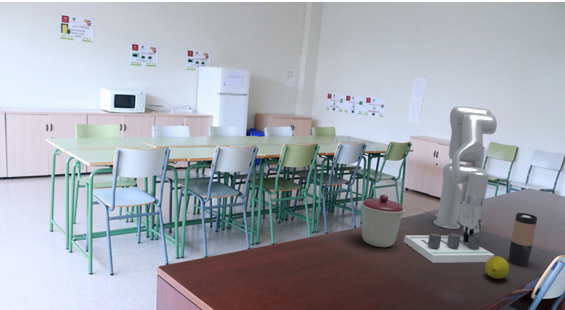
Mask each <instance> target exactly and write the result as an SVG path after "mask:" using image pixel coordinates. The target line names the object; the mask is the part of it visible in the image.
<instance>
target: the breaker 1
mask: <svg viewBox="0 0 565 310" xmlns="http://www.w3.org/2000/svg"><path fill="white" fill-rule="evenodd" d="M428 236H429V240H428V246H429V247H431V248H440V242H441V236H442V235H440V234H438V233H429V234H428Z"/></svg>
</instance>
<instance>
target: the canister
mask: <svg viewBox="0 0 565 310" xmlns="http://www.w3.org/2000/svg"><path fill="white" fill-rule="evenodd" d="M360 205H361V206H362V209H361V215H362V216H361V235H362V240H363V241H364V242H365V243H367V244H368V245H370V246H373V247H377V248H389V247H392V246H393V245H394V243H396V242H395V241H396V240H397V236H398V232H399V229H400V225H401V220H402V218H403V213H405V212H406V208H405V206H402V204H400V203H399V202H397V201H394V200H390V199H389V196H388V195H386V194H381V195H379V198H377V197H376V198H373V197H372V198H367V199H364V200H362V201H360Z"/></svg>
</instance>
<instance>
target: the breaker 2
mask: <svg viewBox="0 0 565 310" xmlns="http://www.w3.org/2000/svg"><path fill="white" fill-rule="evenodd" d="M447 236H448V241H447V246H449V247H450V248H459V243H460V237H461V236H462V235H459V234H457V233H448V235H447Z"/></svg>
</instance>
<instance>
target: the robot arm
mask: <svg viewBox="0 0 565 310" xmlns="http://www.w3.org/2000/svg"><path fill="white" fill-rule="evenodd" d="M449 113H450V114H449V123H450V129H451V136H450V142H449V148H448V158H449V159H450V160H451V163H447V164H445V165H444V167H442V185H441V187H442V188H441V193H440V194H441V195H440V198H439V199H440V200H439V205H438V213H435V214H434V216H435V217H436V218H435V219H434V220H433V224H434V225H436V226H438V227H440V228H443V229H448V230H459V229H461V226H462V228H463V236H462V237H463V242H465V243H468V239H469V235H475V234H479V233H480V230H481V229H482V227H483V222H484V213H485V207H484V205H485V200H486V196H487V195H486V193H487V189H488V185H489V184H488V182H489V173H488V172H487V171H486V170H485V169H484V168H483V164H484V158H485V157H484V156H485V151H484V141H483V140H484V138H483V135H493V134H495V132H496V131H497V129H498V128H497V125H498V124H497V119H496V116H495V115H494V114H493V112H491V110H489V109H487V108H480V107H471V106H455V107H453V108H452V109H451V110H450V112H449ZM461 162H462V163H463V162H464V163H470V164H471V165H470V164H462V163H461ZM459 185H466V189H465V196H464V200H463V201H462V196H463V192H462V189H461V187H460V186H459ZM461 203H462V204H461Z"/></svg>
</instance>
